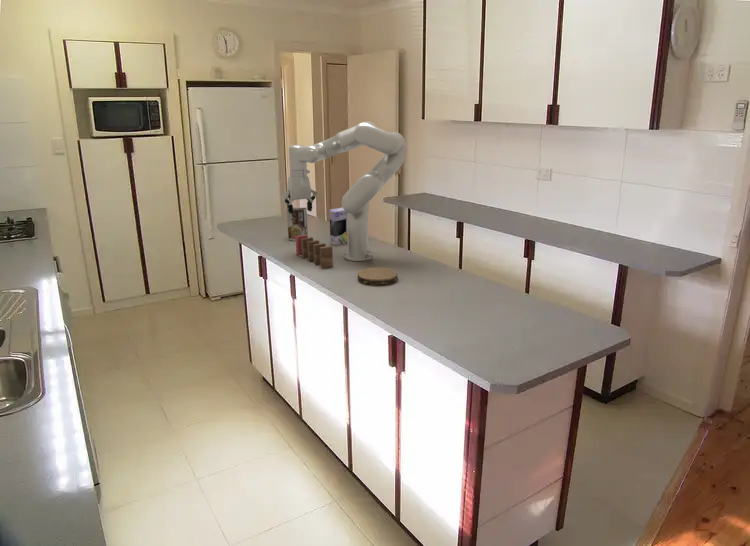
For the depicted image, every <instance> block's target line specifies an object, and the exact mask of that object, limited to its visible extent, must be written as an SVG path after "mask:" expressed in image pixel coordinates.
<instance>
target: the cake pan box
mask: <svg viewBox="0 0 750 546" xmlns="http://www.w3.org/2000/svg"><path fill="white" fill-rule="evenodd" d="M328 213H329V238H330V239H329V240H330V244H331V245H332V244H333V245H332V246H335V245H336V246H340V245H343V244H347V212H346V211H345V210H344V209H343V207H342V206H341V207H337V208H332V209H329V212H328Z"/></svg>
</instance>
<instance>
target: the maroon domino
mask: <svg viewBox="0 0 750 546" xmlns="http://www.w3.org/2000/svg"><path fill="white" fill-rule="evenodd" d="M295 237H296V241H295V251H296V252H295V255H296V256H297V255H298V256H297V257H300V256H299V255H302V247H301V239H303V238H307V235H300V236H295Z"/></svg>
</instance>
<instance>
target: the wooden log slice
mask: <svg viewBox="0 0 750 546" xmlns="http://www.w3.org/2000/svg"><path fill="white" fill-rule="evenodd" d="M398 277H399V273H398V272H397V270H394V269H392V268H389V267H367V268H362V269H360V270H359V271H358V272H357V282H358V283H359V284H362V285H365V286H368V287H369V286H370V287H384V286H391V285H394V284H395V283H397V282H398Z"/></svg>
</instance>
